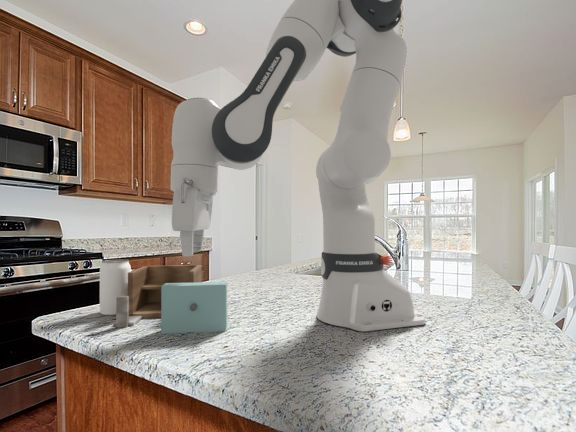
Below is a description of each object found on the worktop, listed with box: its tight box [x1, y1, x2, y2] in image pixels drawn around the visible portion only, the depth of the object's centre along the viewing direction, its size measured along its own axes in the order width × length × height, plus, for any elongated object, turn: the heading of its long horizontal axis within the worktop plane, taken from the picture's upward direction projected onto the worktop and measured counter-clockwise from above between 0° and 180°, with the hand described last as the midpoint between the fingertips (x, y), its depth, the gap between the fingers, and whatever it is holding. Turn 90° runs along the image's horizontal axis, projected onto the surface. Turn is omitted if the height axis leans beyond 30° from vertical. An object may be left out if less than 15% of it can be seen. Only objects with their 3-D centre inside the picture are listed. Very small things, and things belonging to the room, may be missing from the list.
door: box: [160, 281, 228, 335], centre depth 63 cm, size 12×4×9 cm, turn 96°
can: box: [99, 258, 132, 317], centre depth 76 cm, size 6×6×12 cm
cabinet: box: [112, 264, 203, 328], centre depth 74 cm, size 16×17×10 cm
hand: (192, 253), depth 63 cm, fingers open, 8 cm apart
